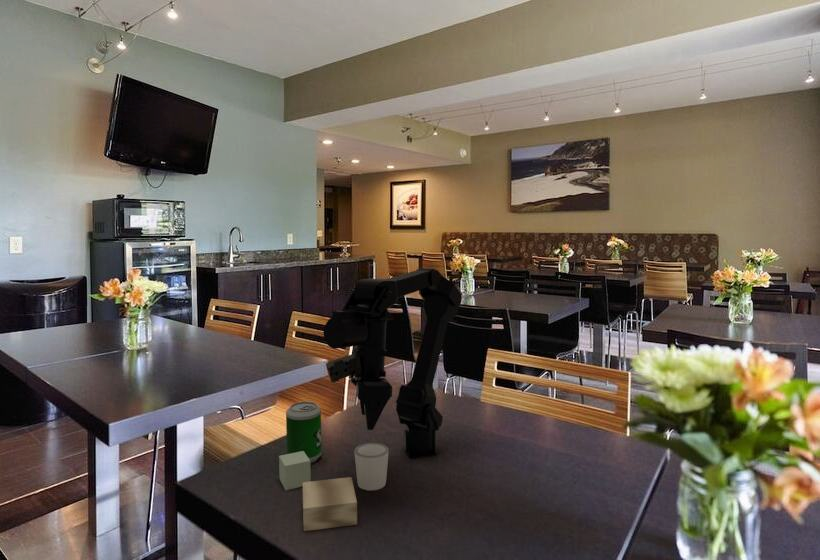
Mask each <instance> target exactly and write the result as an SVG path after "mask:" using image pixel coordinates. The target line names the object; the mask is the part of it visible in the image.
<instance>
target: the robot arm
mask: <svg viewBox="0 0 820 560" xmlns="http://www.w3.org/2000/svg"><path fill="white" fill-rule="evenodd" d="M416 292H418V295H419V296H420V297H421V298H422V299H423V304H422V305H423V306H422V308H423V311H424V315H425V319H426V321H425V325H424V328H423V332H422V337H421V341H420V345H419V348H418V352H417V356H416V361H415V364H414V368H413V372H412V376H411V379H410V380H409V381H408V383H407V384H406V385H404V384H401V386H400V387H399V391H398V396H397V398H396V401H395V405H396V406H395V411H396V413H397V417H398V420H399V425H405V430H403V449H404V450H405V452H406V454H407V455H408V457H409V458H410V459H412V458H413V459H414V458H423V457H424V458H425V457H432V456H439V455H438V453H439V452H438V451H437V450H436V431H439V430H440V427H442V424H443V419H444V417H443V415H442V414H441V413H440V412H439V410H438V409H437V407H436V405H437V396H436V395H437V394H436V392H435V389H434V381H435V377H436V373H437V368H438V364H439V360H440V356H441V353H442V348H443V343H444V340H445V335H446V331H447V327H448V325H449V323H451V321H452V320H453V319H454V318H455V317H456V316H457V314H458V312H459V308H460V306H461V304H462V300H463V299H462V293H461V291H460V290H459V288H458V287H457V286H456V284H455V283H454V282H452V281H451V280H449V279H447V277H444V276H443V275H442V274H441V272H440V271H439V270H438V269H435V268H429V267H427V268H425V267H420V268H417V269H416V270H412V271H410V272H406V273H403V274H399V275H395V276H393V277H392V276H391V277H389V278H361V279H359V280H357V281H356V282H355V286H354V287H353V290H352V291H351V294H349V297H348V298H347V300H346V302H345V304H344V305H343V307H342V309H341V310H333V311H332V316H331V317H330V318H328V320H327V321H326V323H325V326H324V327H323V333H322V334H323V339H324V341H325V343H326V345H327V346H328V347H329V348H331V349H333V350H338V349H343V348H350V347H352V348H353V349H352V351H353V352H352V354H348V355H345V356H342V357H340V358H339V357H338V358H335V359H333V360H331V361H328V362H326V363H325V368H326V370H327V373H328V376H329V379H330V383H336V382H339V381H340V380H341V379H345V378H347V377H350V378H349V379H350V382H351V383H352V384H353V385H354V386H355V388H356V391H355V392H356V397H357V400H359V404H360V411H361V415H362V416H365V423H366V424H365V425H366V429H367V430H368V431H373V430H374V429H375V426H376V424H377V423H378V421H379V418H380V416H381V415H382V413H383V411H384V409H385V407H386V405H387V403H388V402H389V401H390V400H391V398H393V385H392V384H391V383H390V381H388V379H387V378H386V375H387V372H386V370H385V361H386V360H385V358H386V357H387V356H388V355H387V354H388V350H387V349H386V339H387V337H386V336H387V321H391V320H394V315H393V314H392V313H390V311H389V310H388V309H390V308H391V307H393V306H394V305H396V304H397V302H398V300H399V298H401V297H404V296H407V295H410V294H413V293H416Z"/></svg>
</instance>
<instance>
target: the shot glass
mask: <svg viewBox="0 0 820 560" xmlns="http://www.w3.org/2000/svg"><path fill="white" fill-rule="evenodd" d="M353 451H354V461H355V470H356V471H355V472H356V480H357V481H356V482H357V486H358V488H360V489H361V490H366V491H378V490H380V489H383V488H385V486H386V484H387V476H388V474H387V473H388V464H389V463H388V462H389V452H390V449H389V447H388V446H386V445H385V444H382V443H377V442H369V443H364V444H360V445H358V446H357V447H355V449H354V450H353Z"/></svg>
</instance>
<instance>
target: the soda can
mask: <svg viewBox="0 0 820 560" xmlns="http://www.w3.org/2000/svg"><path fill="white" fill-rule="evenodd" d="M285 419H286V420H285V423H286V425H285V427H286V429H285V430H286V454H291V453H296V452H300V451H304V452H305V454H306V455H307V457H308V458H309V460H310V464H312V463H315V462H316V461H317V460H318V458H320V457H321V455H322V454H323V453H322V450H323V449H322V446H323V445H322V409H321V407H320V406H318V405H317V403H315V402H313V401H312V402H311V401H299V402H295V403H293V404H291V405H290V406H289V407H288V408H287V410H286V411H285Z"/></svg>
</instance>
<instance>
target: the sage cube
mask: <svg viewBox="0 0 820 560" xmlns="http://www.w3.org/2000/svg"><path fill="white" fill-rule="evenodd" d="M278 464H279V466H278V467H279V473H278V474H279V481H280V482H281V485H282V486H283V488H284V490H285V491H288V490H289V491H290V490H293V489H297V488H301V487H302V488H303V482H310V481H311V480H312V478H311V476H312V475H311V463H310V460H309V458H308V457H307V455H306V454H305V452H304V451H300V452H296V453H291V454H287V453H286V454H282V455H279V456H278Z"/></svg>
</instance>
